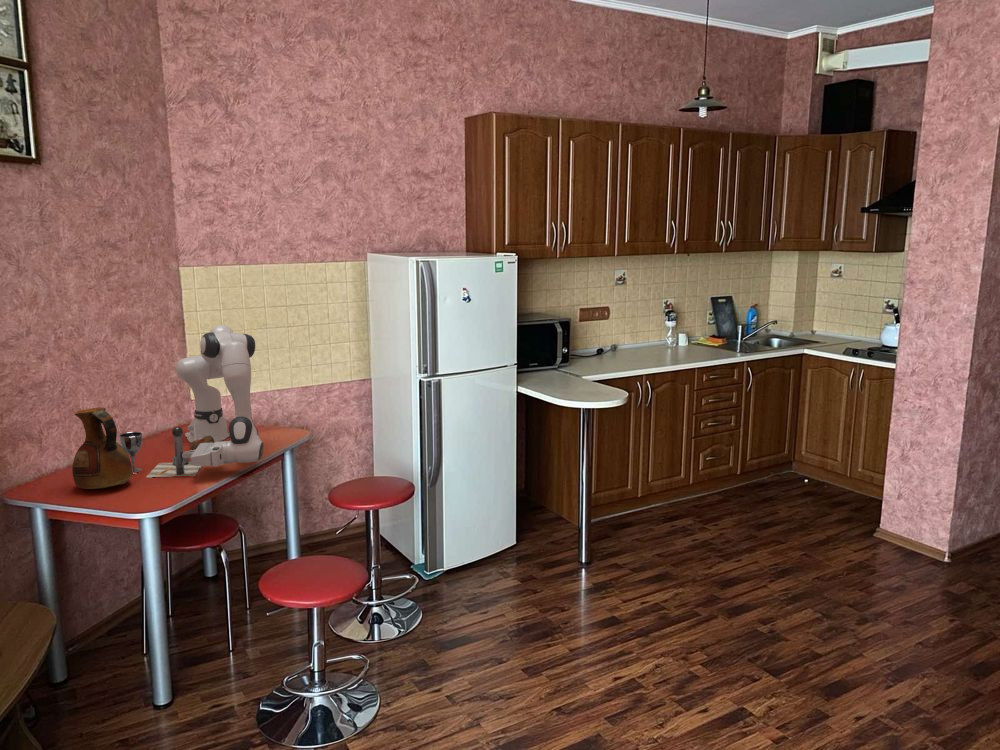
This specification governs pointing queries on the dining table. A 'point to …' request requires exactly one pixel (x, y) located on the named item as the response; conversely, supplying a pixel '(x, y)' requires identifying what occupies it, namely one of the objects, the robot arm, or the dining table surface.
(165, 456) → the dining table surface
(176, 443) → the lever
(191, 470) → the beige square panel
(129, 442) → the silver goblet
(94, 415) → the ceramic pitcher
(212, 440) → the tin
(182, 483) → the dining table surface
